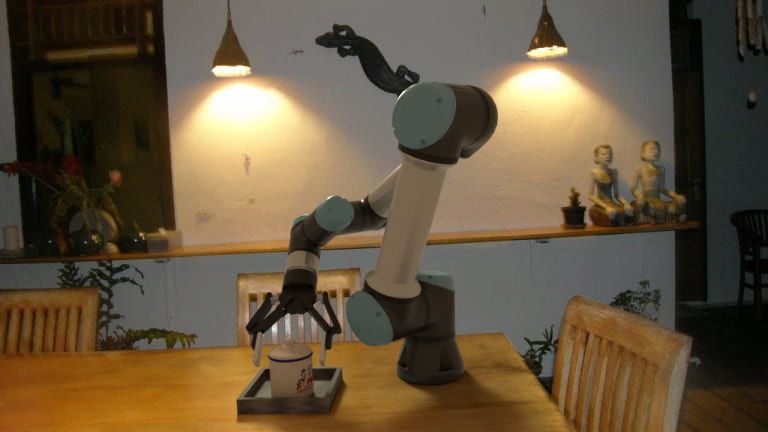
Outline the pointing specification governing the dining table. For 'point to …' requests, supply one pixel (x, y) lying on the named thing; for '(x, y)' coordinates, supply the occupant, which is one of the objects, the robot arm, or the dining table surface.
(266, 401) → the tea tray
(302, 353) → the teacup with lid
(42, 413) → the dining table surface
